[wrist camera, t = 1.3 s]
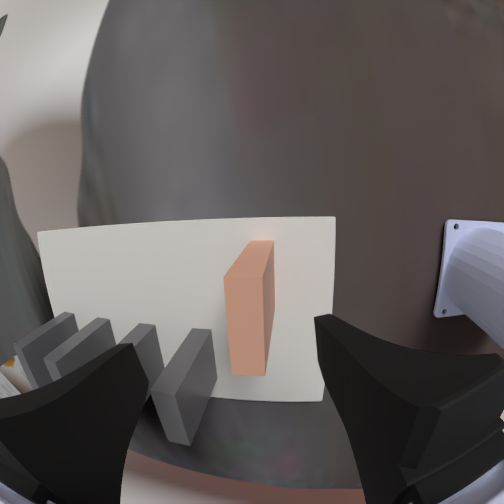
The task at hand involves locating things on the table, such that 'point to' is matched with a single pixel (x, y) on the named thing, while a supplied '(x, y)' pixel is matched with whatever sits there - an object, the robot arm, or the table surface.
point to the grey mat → (200, 289)
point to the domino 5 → (250, 307)
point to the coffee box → (13, 379)
